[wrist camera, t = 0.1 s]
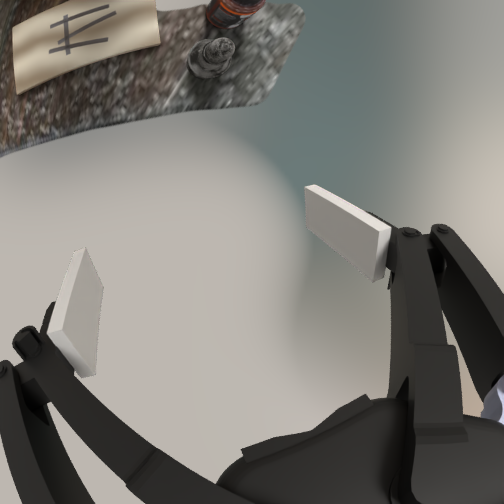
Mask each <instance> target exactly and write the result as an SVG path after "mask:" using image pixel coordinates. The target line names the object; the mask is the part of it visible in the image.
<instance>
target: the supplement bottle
mask: <svg viewBox="0 0 504 504" xmlns="http://www.w3.org/2000/svg"><path fill="white" fill-rule="evenodd" d="M264 3H265V0H211V2H210V3H209V5H208V7H207V10H206V15H207V18H208V20H209V21H210V22H211V23H212V24H213V25H214V26H216V27H219V28H222V29H231V28H234V27H237V26H238V25H240V24H242V23H243V22H244V21H245V20H246V19H248V18H249V17H250V16H252V15H253V14H254V13H256V12H257V11H258V10H259V9H260V8H262V6H263V5H264Z"/></svg>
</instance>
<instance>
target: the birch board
mask: <svg viewBox="0 0 504 504" xmlns="http://www.w3.org/2000/svg"><path fill="white" fill-rule="evenodd" d="M158 45H160V36H159V29H158V20H157V12H156V3H155V0H70V1H68V2H65V3H63V4H60V5H58V6H55V7H53V8H51V9H49V10H46V11H44V12H42V13H40V14H38V15H36V16H34V17H32V18H30V19H28V20H26V21H24V22H22V23H20V24H18V25H16V26H15V27H13V61H14V73H15V83H16V91H17V94H18V95H20V94H22V93H24V92H26V91H28V90H30V89H32V88H34V87H36V86H38V85H40V84H42V83H45V82H47V81H49V80H51V79H53V78H56V77H58V76H60V75H63V74H65V73H68V72H70V71H73V70H76V69H78V68H81V67H84V66H86V65H89V64H92V63H95V62H98V61H101V60H104V59H107V58H111V57H114V56H117V55H121V54H125V53H128V52H132V51H136V50H140V49H144V48H149V47H153V46H158Z"/></svg>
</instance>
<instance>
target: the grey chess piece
mask: <svg viewBox="0 0 504 504" xmlns="http://www.w3.org/2000/svg"><path fill="white" fill-rule="evenodd" d="M234 51H235V45H234V43H233V42H232V41H231V40H230V39H228V38H218V39H216V40H215V39H205V40H202V41H199V42H198V43H196V44H195V45H194V46H193V47H192V48H191V50H190V52H189V55H188V58H187V67H188V70H189V71H190V73H191V74H192V75H194V76H195V77H198V78H201V79H207V78H215V77H218V76H220V75H222V74H223V73H225V72H226V71H227V70H228V68H229V66H230V64H231V60H232V57H231V56H232V55H233V53H234Z"/></svg>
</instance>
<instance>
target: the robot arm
mask: <svg viewBox="0 0 504 504" xmlns="http://www.w3.org/2000/svg"><path fill="white" fill-rule="evenodd" d="M304 188H305V206H306V207H305V208H306V227H307V228H308V229H309V230H311V231H312V232H313V233H314V234H315V235H317V236H318V237H319V238H320V239H322V240H323V241H324V242H325V243H326V244H328V245H329V246H330V247H331V248H332V249H334V250H335V251H336V252H337V253H338V254H340V255H341V256H342V257H343V258H344V259H346V260H347V261H348V262H349V263H350V264H352V265H353V266H354V267H355V268H356V269H357V270H359V271H360V272H361V273H362V274H363V275H364V276H366V277H367V278H368V279H369V280H370V281H371V282H375V281H377V280H379V279H382V278H383V277H384V275H385V269H386V267H387V268H388V269H389V270H391V273H390V278H389V284H388V289H390V293H391V359H390V378H389V389H388V394H387V398H378V399H373V400H370V399H369V398H368V396H367V395H366V394H364V395H362V396H360V397H359V398H357V399H355V400H353V401H351V402H350V403H348V404H346V405H344V406H342V407H340V408H339V409H337V410H336V411H335V412H334V413H333V414H331V415H330V416H329V417H328V418H326V419H325V420H324V421H323V422H322V423H320V424H319V425H318V426H317V427H316V428H314V429H313V430H311V431H307V432H302V433H297V434H291V435H285V436H279V437H273V438H271V439H268V440H265V441H263V442H260V443H257V444H254V445H252V446H249V447H246V448H242V449H241V451H242V454H243V457H241V458H239V459H238V460H236V461H235V462H234V463H233V464H231V465H230V466H229V467H228V468H227V469H226V470H225V471H224V472H223V474H222V475H221V476H220V478H219V479H218V481H217V483H216V484H214V483H213V482H211V481H209V480H207V479H205V478H204V477H202V476H200V475H199V474H197V473H195V472H194V471H192V470H190V469H189V468H187V467H186V466H184V465H182V464H181V463H179V462H178V461H176V460H175V459H173V458H172V457H170V456H169V455H167V454H166V453H164V452H163V451H161V450H160V449H158V448H156V447H155V446H153V445H152V444H150V443H149V442H148V441H146V440H145V439H144V438H143V437H141V436H140V435H138V434H137V433H136V432H135V431H134V430H132V429H131V428H130V427H129V426H128V425H126V424H125V423H124V422H123V421H122V420H120V419H119V418H118V417H117V416H116V415H115V414H113V413H112V412H111V411H110V410H109V409H108V408H107V407H106V406H104V405H103V404H102V403H101V402H100V401H99V400H98V399H97V398H96V397H95V396H94V395H93V394H92V393H91V392H90V391H89V390H88V389H87V388H86V387H85V386H84V385H83V384H82V383H81V382H80V381H79V380H78V379H77V378H76V377H75V376H74V370H75V371H76V372H77V374H78V375H79V376H80V377H81V378H84V377H89V376H94V375H96V356H97V341H98V330H99V319H100V310H101V302H102V294H103V285H102V283H101V281H100V278H99V277H98V274H97V272H96V270H95V267H94V265H93V263H92V261H91V258H90V256H89V254H88V252H87V249H86V247H85V248H82V249H79V250H77V251H74V253H73V256H72V258H71V261H70V263H69V266H68V269H67V272H66V274H65V277H64V280H63V282H62V285H61V288H60V291H59V294H58V297H57V301H55V302H52V303H51V304H50V306H49V307H48V309H47V310H46V314H45V316H44V318H45V319H43V323H42V324H43V325H42V326H41V329H40V333H38V331H37V330H36V328H35V327H33V326H26V327H24V328H22V329H21V330H20V331H19V332H18V333H17V334H16V335H15V337H14V339H13V342H12V345H13V348H14V349H15V350H16V352H17V353H18V354H19V355H20V356H21V358H22V359H23V360H24V361H23V362H21V363H20V364H18V365H16V366H13V365H12V364H11V362H10V361H8V360H3V361H1V362H0V434H1V439H2V443H3V447H4V450H5V455H6V458H7V462H8V465H9V468H10V471H11V474H12V477H13V480H14V483H15V486H16V489H17V491H18V494H19V497H20V499H21V501H22V504H95V502H94V501H93V500H92V498H91V496H90V494H89V493H88V491H87V489H86V488H85V486H84V484H83V483H82V481H81V479H80V477H79V476H78V474H77V472H76V470H75V468H74V466H73V464H72V462H71V460H70V458H69V456H68V454H67V452H66V450H65V448H64V445H63V443H62V441H61V439H60V436H59V434H58V432H57V429H56V427H55V424H54V422H53V420H52V417H51V414H50V412H49V409H48V406H47V403H49V402H52V404H53V405H54V406H55V407H56V409H57V410H58V412H59V413H60V414H61V415H62V417H63V418H64V419H65V420H66V422H67V423H68V424H69V425H70V426H71V428H72V429H73V430H74V431H75V432H76V434H77V435H78V436H79V437H80V438H81V439H82V440H83V441H84V442H85V444H86V445H87V446H88V447H89V448H90V449H91V450H92V451H93V452H94V453H95V454H96V455H97V456H98V457H99V458H100V459H101V460H102V461H103V462H104V463H105V464H106V465H107V466H108V467H109V468H110V469H111V470H112V471H113V472H114V473H115V474H116V475H117V476H119V477H120V478H121V479H122V480H123V481H124V482H125V483H126V487H127V488H128V489H129V490H130V491H131V492H132V493H133V494H134V495H135V496H137V497H138V498H139V499H140V500H141V501H143V502H144V503H145V504H504V294H503V293H502V291H501V290H500V288H499V287H498V285H497V284H496V283H495V281H494V280H493V278H492V277H491V276H490V274H489V273H488V272H487V271H486V269H485V268H484V267H483V265H482V264H481V263H480V261H479V260H478V259H477V258H476V256H475V255H474V254H473V253H472V252H471V250H470V249H469V248H468V247H467V245H466V244H465V243H464V242H463V241H462V240H461V239H460V237H459V236H458V235H457V234H456V233H455V231H454V230H453V229H451V228H450V227H448V226H447V225H444V224H434V225H432V227H431V232H430V234H424V235H422V234H421V232H419V231H418V230H416V229H414V228H409V227H403V228H399V229H398V228H396V227H394V226H393V225H391V224H390V223H388V222H386V221H385V220H384V221H383V219H381V218H378V216H376V215H374V214H373V213H370V212H367V211H364V210H361V209H359V208H358V207H356V206H354V205H352V204H350V203H349V202H347V201H345V200H343V199H341V198H340V197H338V196H336V195H334V194H332V193H330V192H329V191H326V190H325V189H323V188H321V187H319V186H317V185H311V186H306V187H304ZM442 311H443V313H444V315H445V317H446V319H447V321H448V323H449V325H450V327H451V330H452V332H453V334H454V336H455V339H456V341H457V343H458V345H459V348H460V350H461V353H462V355H463V357H464V360H465V363H466V365H467V368H468V370H469V373H470V376H471V378H472V381H473V383H474V386H475V388H476V391H477V392H478V394H479V396H480V398H481V400H482V402H483V403H484V409H483V411H482V412H481V418H480V417H475V416H470V415H465V414H463V406H462V391H461V380H460V372H459V364H458V356H457V351H456V347H455V346H454V345H448V344H447V338H446V331H445V326H444V320H443V314H442Z"/></svg>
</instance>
